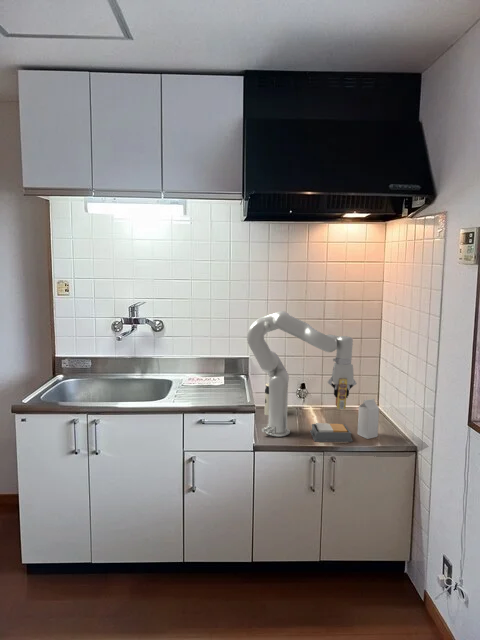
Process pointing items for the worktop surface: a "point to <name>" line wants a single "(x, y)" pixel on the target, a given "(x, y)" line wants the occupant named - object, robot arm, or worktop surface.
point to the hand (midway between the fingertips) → (341, 396)
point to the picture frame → (330, 427)
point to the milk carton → (368, 419)
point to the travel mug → (267, 400)
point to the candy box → (341, 394)
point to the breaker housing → (330, 435)
